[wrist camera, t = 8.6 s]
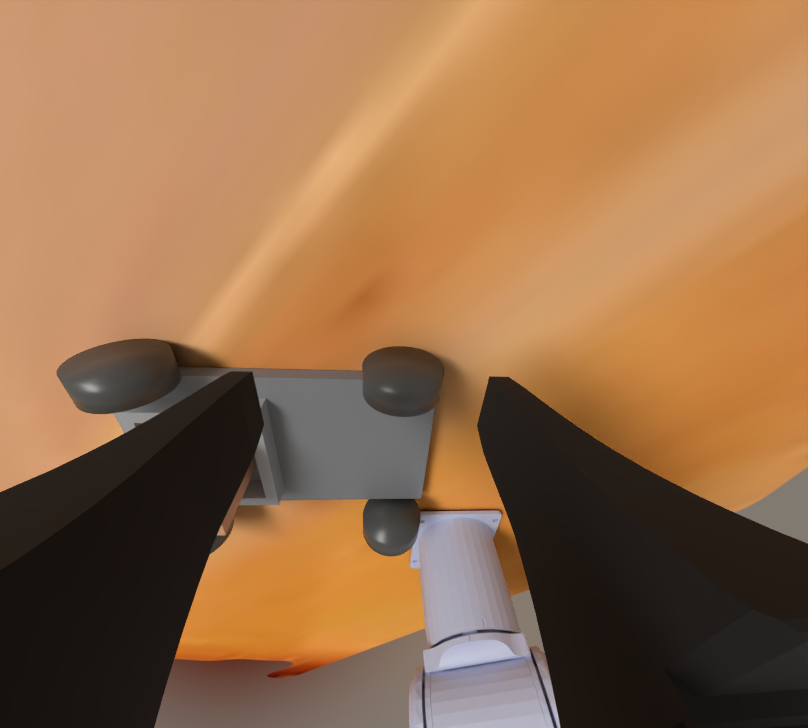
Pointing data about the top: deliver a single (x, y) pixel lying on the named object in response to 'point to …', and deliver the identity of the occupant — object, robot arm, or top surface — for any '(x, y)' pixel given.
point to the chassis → (296, 425)
